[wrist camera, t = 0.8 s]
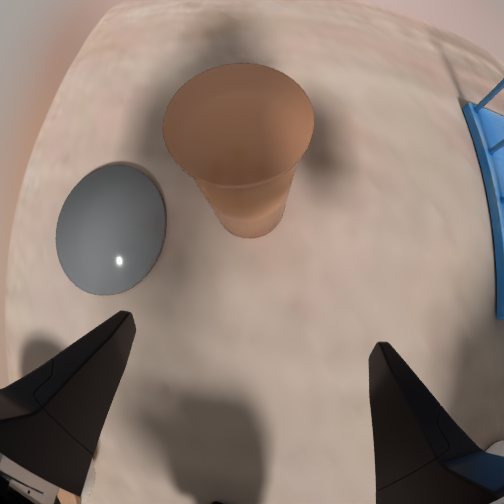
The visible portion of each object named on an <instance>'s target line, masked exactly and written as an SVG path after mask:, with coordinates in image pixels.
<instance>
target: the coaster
mask: <svg viewBox="0 0 504 504" xmlns="http://www.w3.org/2000/svg"><path fill="white" fill-rule="evenodd" d="M165 233H166V212H165V207H164V203H163V199H162V197H161V195H160V192H159V191H158V189H157V188H156V186H155V185H154V184H153V182H152V181H151V180H150V179H149V178H148V177H147V176H146V175H144V174H143V173H142V172H140V171H138V170H137V169H134V168H132V167H128V166H123V165H113V166H107V167H103V168H101V169H98V170H96V171H94V172H92V173H90V174H89V175H87V176H86V177H85V178H83V179H82V180H81V181H80V182H79V183H78V184H77V185H76V186H75V187H74V188H73V190H72V191H71V193H70V194H69V195H68V197H67V199H66V200H65V202H64V205H63V207H62V209H61V212H60V215H59V218H58V222H57V228H56V249H57V254H58V258H59V261H60V264H61V266H62V269H63V270H64V272H65V274H66V275H67V277H68V278H69V279H70V281H71V282H73V283H74V284H75V285H76V286H77V287H78V288H80V289H81V290H83V291H85V292H87V293H91V294H94V295H115V294H119V293H122V292H125V291H127V290H129V289H130V288H132V287H134V286H135V285H136V284H138V283H139V282H140V281H141V280H142V279H143V278H144V277H145V276H146V275H147V274H148V273H149V272H150V270H151V269H152V267H153V266H154V264H155V263H156V261H157V259H158V257H159V254H160V252H161V249H162V246H163V243H164V238H165Z"/></svg>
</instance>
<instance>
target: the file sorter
mask: <svg viewBox="0 0 504 504" xmlns="http://www.w3.org/2000/svg"><path fill="white" fill-rule="evenodd" d="M503 88H504V79H503V80H502V81H501V82H500V83H499V84H498V85H497V86H496V87H495V88H494V89H493V90H492V91H491V92H490V93H489V94H488V95H487V96H486V97H485V98H484V99H483V100H482V101H481V102H480V103H479V104H478V105H475V104H472V103H468V104H466V105H465V106H464V107H463V112H464V114H465V117H466V120H467V123H468V125H469V128H470V131H471V134H472V137H473V140H474V144H475V147H476V151H477V154H478V158H479V161H480V165H481V169H482V173H483V177H484V182H485V186H486V191H487V196H488V201H489V207H490V213H491V219H492V227H493V234H494V244H495V256H496V270H497V319H498V320H504V117H503V116H501V115H499V114H497V113H494V112H492V111H490V110H487V109H485V108H482V107H484V106H485V105H486V104H487V103H488V102H489V101H490V100H491V99H492V98H493V97H494V96H495V95H496V94H497V93H498V92H500V91H501V90H502V89H503Z"/></svg>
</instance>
